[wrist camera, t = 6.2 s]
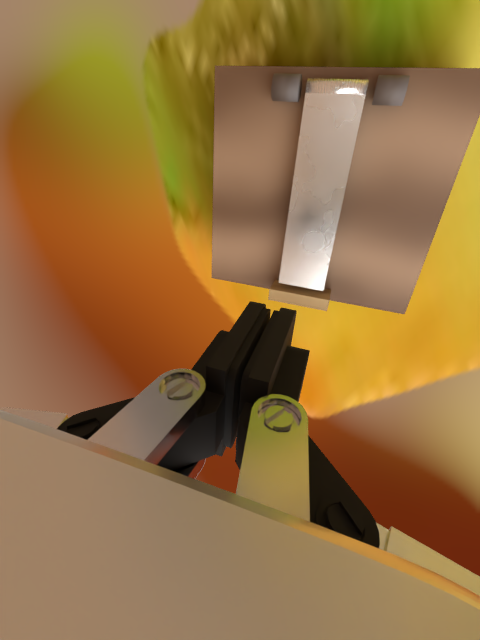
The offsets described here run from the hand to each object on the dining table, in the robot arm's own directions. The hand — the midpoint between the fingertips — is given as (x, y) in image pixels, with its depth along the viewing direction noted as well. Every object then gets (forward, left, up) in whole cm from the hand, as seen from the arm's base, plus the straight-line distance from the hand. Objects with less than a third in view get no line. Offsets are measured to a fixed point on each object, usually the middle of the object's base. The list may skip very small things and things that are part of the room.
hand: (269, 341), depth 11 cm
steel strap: (-4, 0, -11) cm, 12 cm away
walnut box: (-3, 0, -17) cm, 17 cm away
